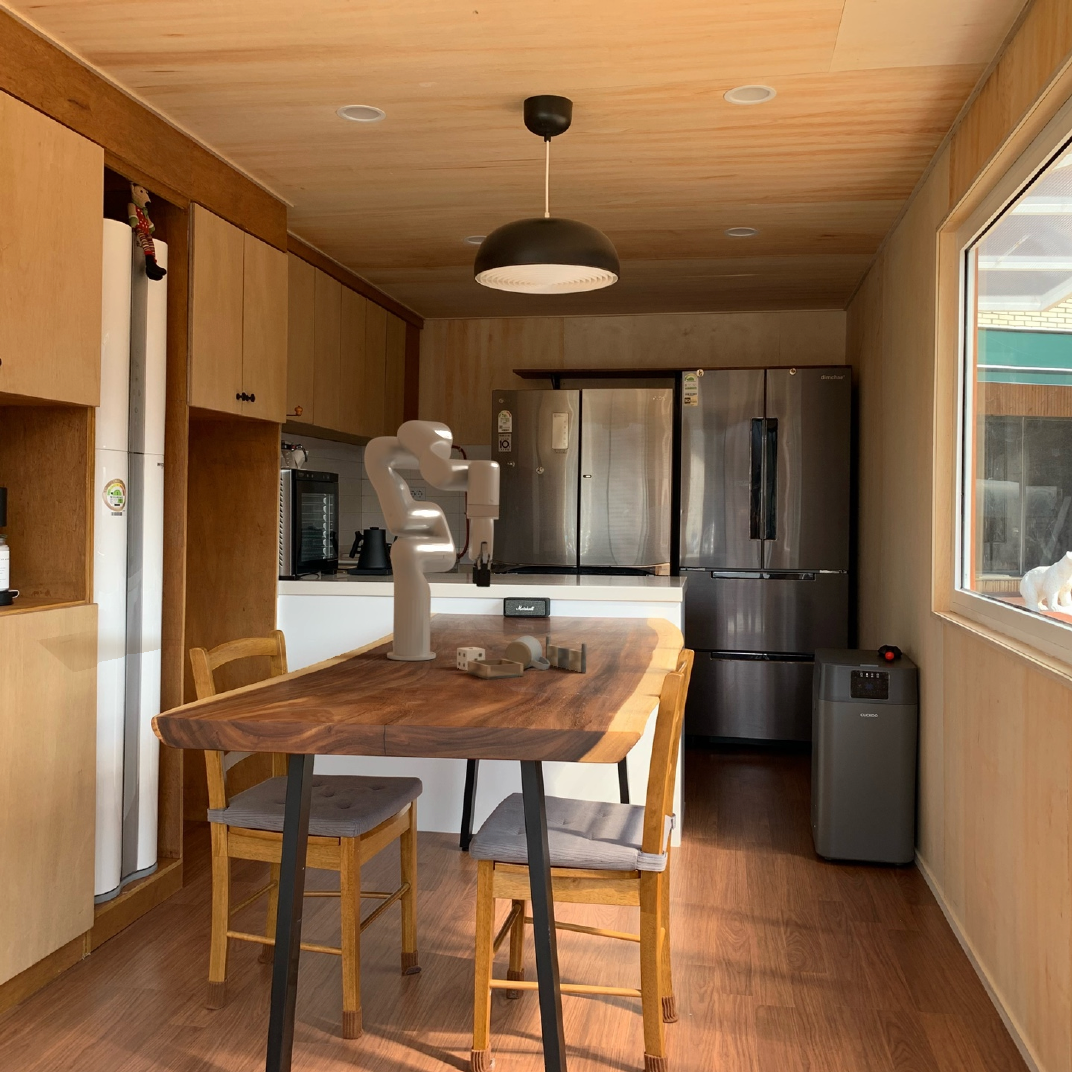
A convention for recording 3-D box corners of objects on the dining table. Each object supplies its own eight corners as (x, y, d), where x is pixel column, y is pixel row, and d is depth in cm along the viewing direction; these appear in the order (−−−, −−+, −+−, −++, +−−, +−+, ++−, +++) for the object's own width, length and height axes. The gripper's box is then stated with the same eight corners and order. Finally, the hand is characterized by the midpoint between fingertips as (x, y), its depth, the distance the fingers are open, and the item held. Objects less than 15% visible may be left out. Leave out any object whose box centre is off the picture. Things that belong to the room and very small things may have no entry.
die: (456, 668, 255) (456, 647, 255) (474, 667, 258) (475, 646, 257) (466, 671, 251) (466, 650, 250) (484, 669, 253) (485, 649, 253)
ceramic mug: (502, 669, 254) (503, 637, 254) (513, 664, 262) (514, 634, 262) (544, 672, 251) (545, 641, 251) (553, 668, 259) (554, 637, 258)
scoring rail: (544, 664, 264) (545, 636, 264) (548, 663, 264) (549, 636, 264) (582, 673, 249) (583, 644, 249) (587, 673, 250) (587, 643, 250)
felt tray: (467, 673, 246) (467, 660, 246) (502, 670, 251) (502, 658, 251) (487, 679, 238) (487, 666, 238) (523, 676, 243) (523, 663, 243)
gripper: (463, 512, 254) (462, 582, 254) (470, 512, 237) (468, 588, 237) (494, 512, 255) (492, 582, 255) (502, 513, 238) (501, 588, 238)
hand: (481, 585), depth 246 cm, fingers open, 9 cm apart
